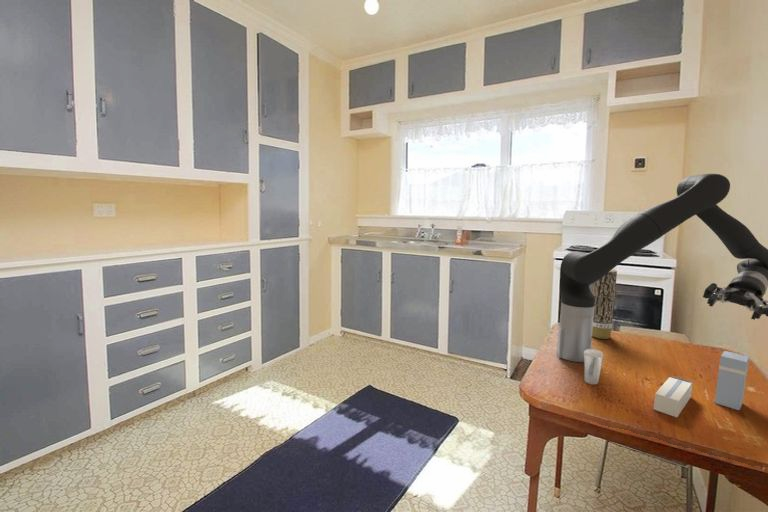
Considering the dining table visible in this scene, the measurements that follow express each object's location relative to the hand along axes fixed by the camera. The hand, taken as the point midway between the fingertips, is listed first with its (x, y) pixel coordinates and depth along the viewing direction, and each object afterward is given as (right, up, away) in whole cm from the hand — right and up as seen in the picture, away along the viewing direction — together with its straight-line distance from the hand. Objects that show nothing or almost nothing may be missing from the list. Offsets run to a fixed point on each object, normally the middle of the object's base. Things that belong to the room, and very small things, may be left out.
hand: (732, 309), depth 98 cm
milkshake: (-34, -20, +5) cm, 40 cm away
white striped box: (-20, -22, -6) cm, 30 cm away
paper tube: (-11, -16, +40) cm, 45 cm away
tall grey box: (-6, -22, -6) cm, 24 cm away
